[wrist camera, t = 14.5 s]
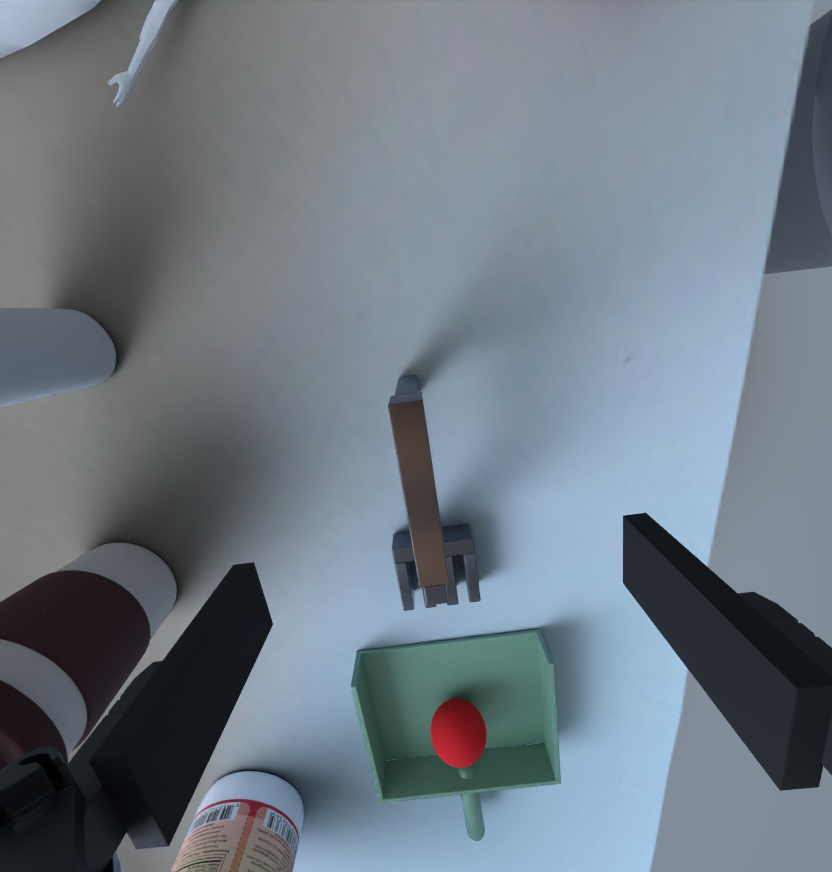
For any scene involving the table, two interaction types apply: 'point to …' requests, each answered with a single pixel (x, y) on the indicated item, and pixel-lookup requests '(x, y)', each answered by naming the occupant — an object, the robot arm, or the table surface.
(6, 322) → the beverage can
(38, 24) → the woman figurine
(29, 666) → the coffee cup
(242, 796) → the fruit juice
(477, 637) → the green dustpan
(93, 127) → the table surface
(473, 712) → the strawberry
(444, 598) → the fork
